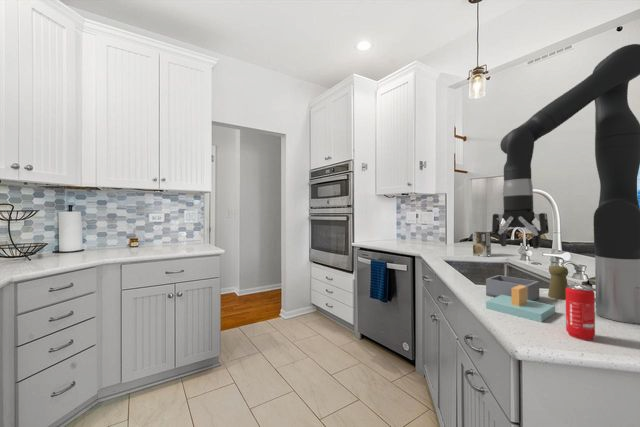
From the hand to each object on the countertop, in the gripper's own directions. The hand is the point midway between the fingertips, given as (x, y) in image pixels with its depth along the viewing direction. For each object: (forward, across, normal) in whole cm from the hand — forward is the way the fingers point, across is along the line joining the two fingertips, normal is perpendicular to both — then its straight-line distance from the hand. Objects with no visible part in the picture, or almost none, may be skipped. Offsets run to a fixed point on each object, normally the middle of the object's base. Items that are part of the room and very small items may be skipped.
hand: (519, 247), depth 87 cm
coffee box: (+19, +57, -98) cm, 115 cm away
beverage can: (+20, -16, +9) cm, 27 cm away
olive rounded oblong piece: (+20, -3, -25) cm, 32 cm away
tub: (+20, +7, -13) cm, 25 cm away
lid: (+20, 0, 0) cm, 20 cm away
